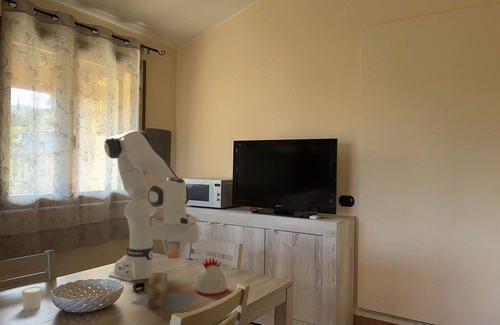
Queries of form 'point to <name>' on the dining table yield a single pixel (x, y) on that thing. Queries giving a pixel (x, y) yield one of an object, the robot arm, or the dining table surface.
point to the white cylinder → (32, 298)
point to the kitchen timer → (211, 280)
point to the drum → (173, 249)
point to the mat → (170, 301)
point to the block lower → (157, 299)
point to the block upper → (157, 282)
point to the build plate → (138, 286)
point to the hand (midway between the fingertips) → (173, 251)
